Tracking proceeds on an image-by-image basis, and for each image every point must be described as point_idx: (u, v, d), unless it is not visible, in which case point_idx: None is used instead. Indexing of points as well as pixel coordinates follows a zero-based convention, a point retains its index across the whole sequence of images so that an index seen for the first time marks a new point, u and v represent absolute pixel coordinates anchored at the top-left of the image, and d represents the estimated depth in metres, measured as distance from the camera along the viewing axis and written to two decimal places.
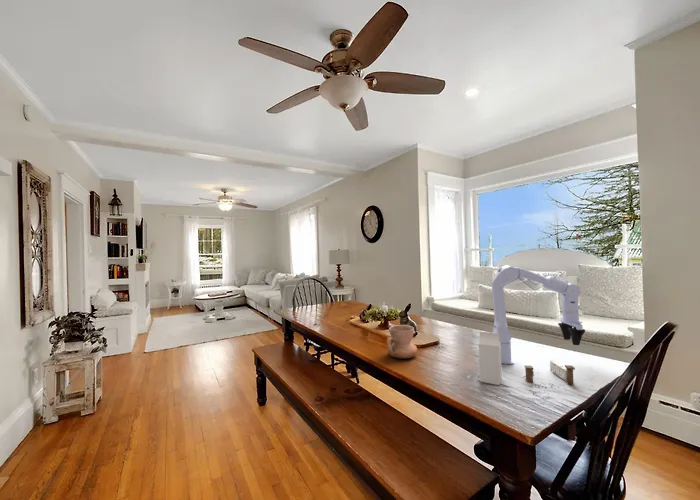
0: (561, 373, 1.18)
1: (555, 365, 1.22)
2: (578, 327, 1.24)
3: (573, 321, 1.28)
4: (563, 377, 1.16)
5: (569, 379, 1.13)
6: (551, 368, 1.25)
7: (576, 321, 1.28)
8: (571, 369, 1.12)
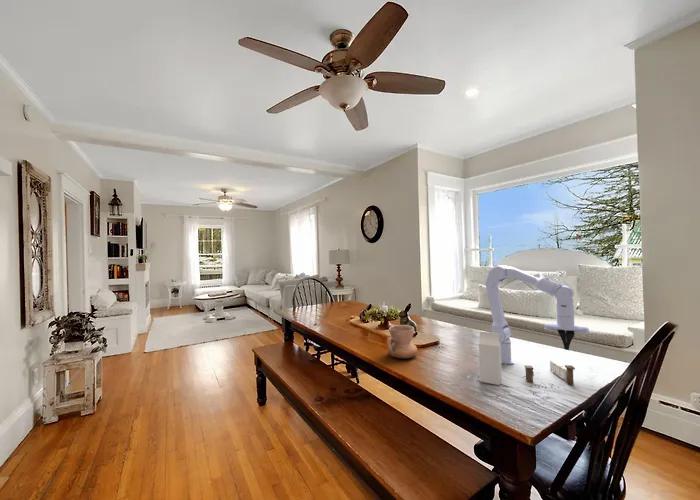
0: (561, 373, 1.18)
1: (555, 365, 1.22)
2: None
3: None
4: (563, 377, 1.16)
5: (569, 379, 1.13)
6: (551, 368, 1.25)
7: None
8: (571, 369, 1.12)
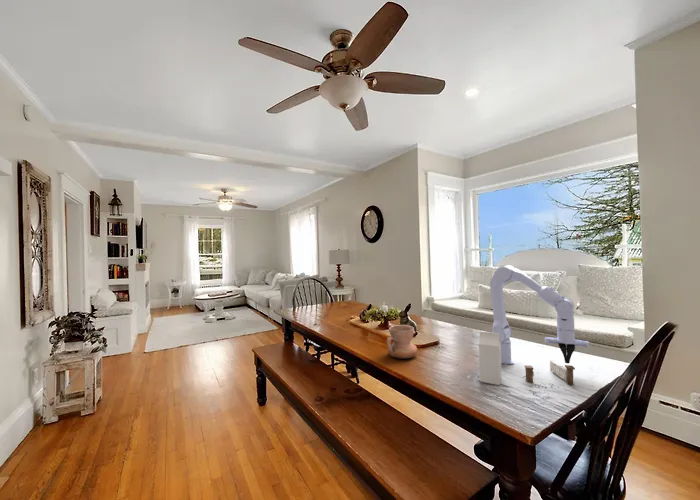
0: (561, 373, 1.18)
1: (555, 365, 1.22)
2: None
3: (574, 339, 1.20)
4: (563, 377, 1.16)
5: (569, 379, 1.13)
6: (551, 368, 1.25)
7: None
8: (571, 369, 1.12)
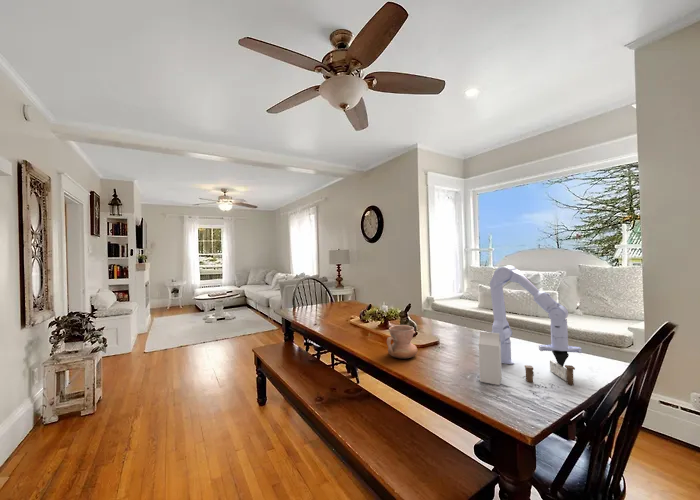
0: (561, 373, 1.18)
1: (555, 365, 1.22)
2: None
3: None
4: (563, 377, 1.16)
5: (569, 379, 1.13)
6: (551, 368, 1.25)
7: None
8: (571, 369, 1.12)
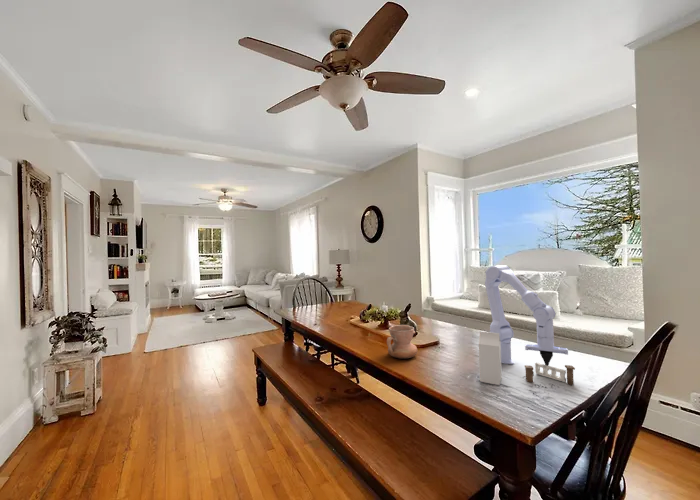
0: (555, 374, 1.17)
1: (545, 367, 1.20)
2: (567, 351, 1.18)
3: (554, 346, 1.20)
4: (560, 378, 1.16)
5: (569, 379, 1.13)
6: (537, 371, 1.22)
7: None
8: (571, 369, 1.12)
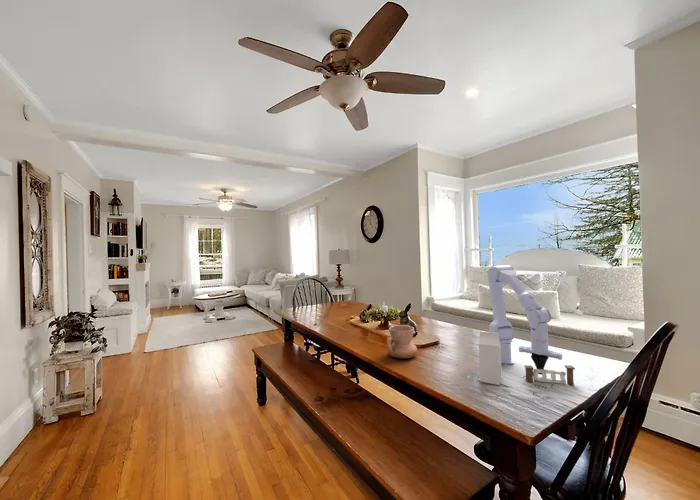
0: None
1: (545, 372, 1.15)
2: (561, 357, 1.13)
3: (547, 350, 1.17)
4: (561, 380, 1.14)
5: (569, 379, 1.13)
6: (536, 377, 1.16)
7: None
8: (571, 369, 1.12)
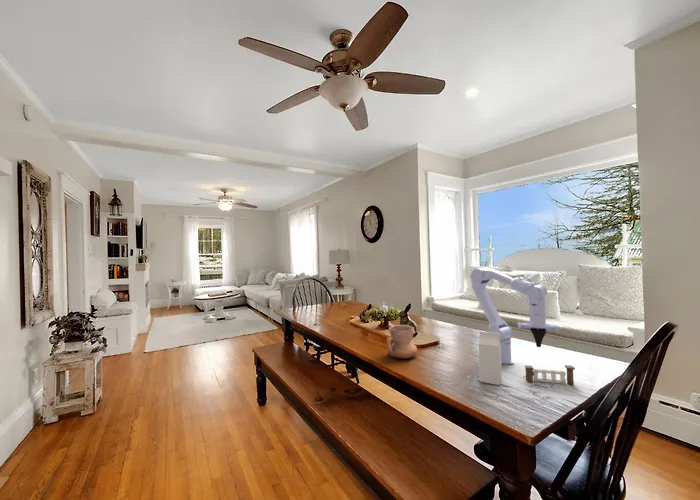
0: None
1: (545, 372, 1.15)
2: None
3: (545, 323, 1.24)
4: (561, 380, 1.14)
5: (569, 379, 1.13)
6: (536, 377, 1.16)
7: None
8: (571, 369, 1.12)
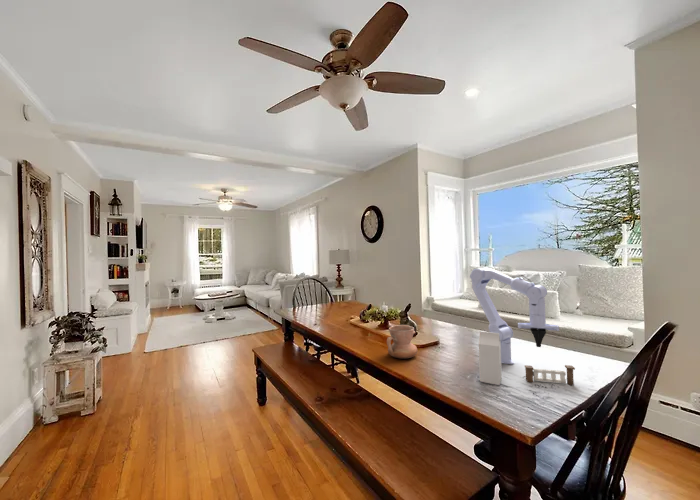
0: None
1: (545, 372, 1.15)
2: None
3: (545, 323, 1.24)
4: (561, 380, 1.14)
5: (569, 379, 1.13)
6: (536, 377, 1.16)
7: None
8: (571, 369, 1.12)
